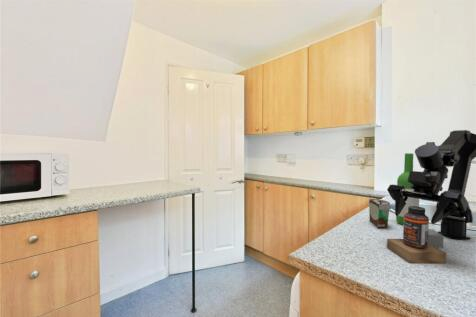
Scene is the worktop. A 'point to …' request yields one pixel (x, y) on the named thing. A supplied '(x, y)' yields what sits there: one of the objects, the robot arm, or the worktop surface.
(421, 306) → the worktop surface
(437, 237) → the slate block
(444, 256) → the walnut block
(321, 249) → the worktop surface
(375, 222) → the food container
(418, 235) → the supplement bottle
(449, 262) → the worktop surface
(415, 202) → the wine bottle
